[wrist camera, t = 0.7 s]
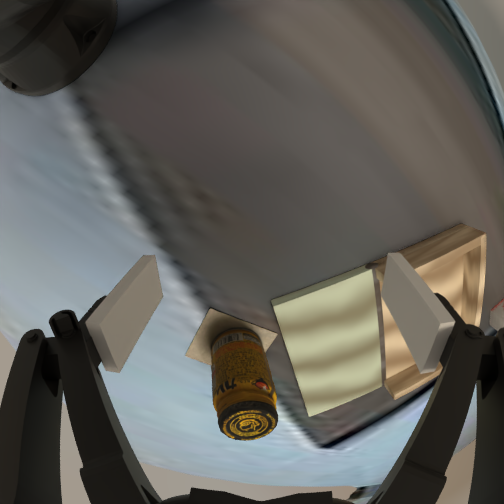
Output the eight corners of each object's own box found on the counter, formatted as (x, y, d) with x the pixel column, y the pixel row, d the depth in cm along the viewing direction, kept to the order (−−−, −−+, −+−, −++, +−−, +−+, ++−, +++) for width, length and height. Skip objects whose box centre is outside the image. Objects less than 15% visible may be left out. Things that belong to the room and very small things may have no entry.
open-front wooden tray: (270, 300, 32) (280, 323, 27) (461, 223, 33) (486, 233, 28) (306, 409, 39) (315, 434, 34) (457, 335, 39) (474, 350, 35)
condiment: (248, 376, 35) (263, 451, 24) (185, 354, 33) (179, 433, 22) (277, 332, 34) (305, 406, 22) (210, 306, 31) (211, 382, 20)
